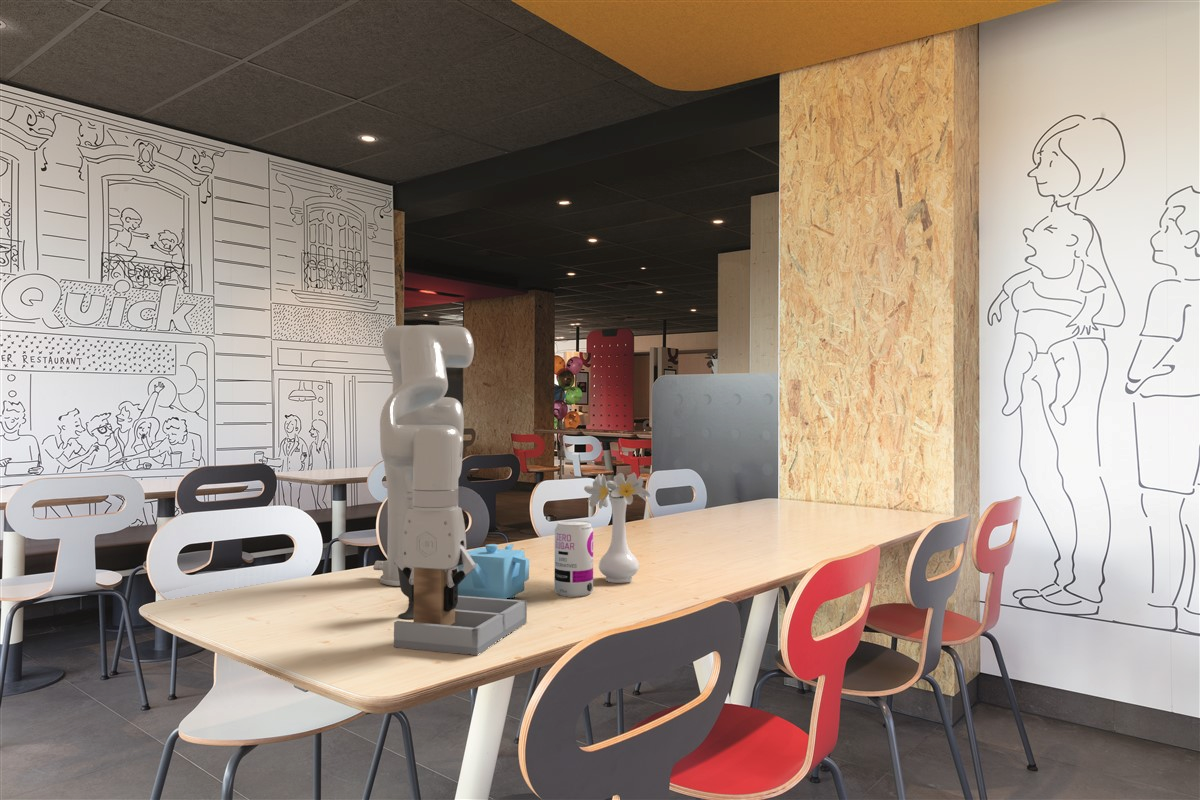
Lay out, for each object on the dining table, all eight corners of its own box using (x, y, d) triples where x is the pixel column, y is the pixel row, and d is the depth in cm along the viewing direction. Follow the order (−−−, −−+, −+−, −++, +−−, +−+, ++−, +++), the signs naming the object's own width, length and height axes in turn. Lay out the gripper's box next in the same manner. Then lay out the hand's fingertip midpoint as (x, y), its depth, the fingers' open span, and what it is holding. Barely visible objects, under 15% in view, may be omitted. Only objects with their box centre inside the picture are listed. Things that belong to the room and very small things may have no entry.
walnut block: (413, 627, 126) (414, 561, 126) (428, 620, 131) (429, 555, 131) (440, 630, 124) (440, 562, 125) (454, 622, 129) (455, 557, 129)
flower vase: (608, 570, 186) (608, 468, 187) (664, 582, 173) (664, 472, 173) (568, 578, 178) (568, 470, 178) (623, 591, 164) (623, 475, 165)
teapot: (436, 605, 151) (437, 548, 151) (481, 587, 168) (481, 535, 168) (508, 613, 146) (508, 553, 146) (546, 592, 163) (547, 539, 163)
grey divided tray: (393, 646, 124) (394, 622, 124) (452, 616, 143) (452, 595, 143) (477, 655, 119) (477, 629, 120) (526, 622, 139) (526, 600, 139)
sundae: (398, 622, 139) (398, 539, 139) (390, 614, 145) (390, 534, 145) (433, 618, 142) (434, 537, 142) (424, 610, 148) (425, 532, 148)
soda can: (594, 589, 166) (594, 520, 166) (590, 598, 158) (590, 525, 158) (558, 588, 167) (558, 519, 167) (551, 597, 159) (552, 525, 159)
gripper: (378, 500, 127) (377, 609, 127) (471, 504, 122) (470, 618, 122) (403, 495, 134) (402, 599, 134) (491, 499, 129) (490, 606, 129)
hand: (434, 607), depth 128 cm, fingers closed on walnut block, 5 cm apart
